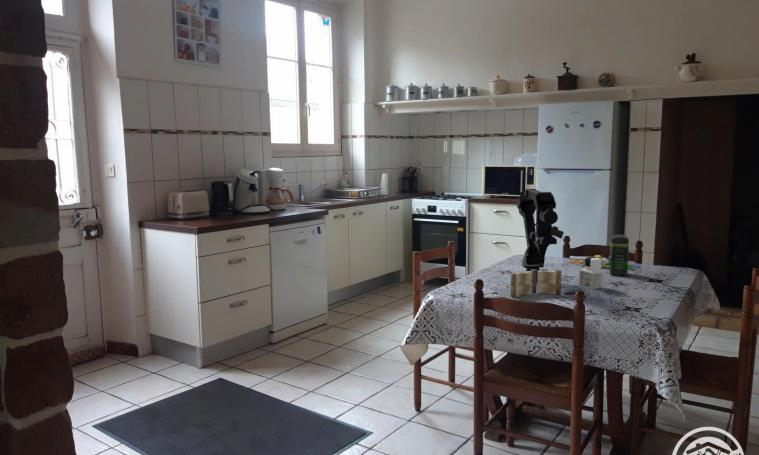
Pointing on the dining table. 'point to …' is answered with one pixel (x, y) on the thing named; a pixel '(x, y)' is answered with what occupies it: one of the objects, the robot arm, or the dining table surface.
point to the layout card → (507, 293)
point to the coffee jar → (619, 255)
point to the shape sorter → (604, 263)
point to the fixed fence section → (549, 282)
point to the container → (592, 274)
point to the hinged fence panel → (523, 283)
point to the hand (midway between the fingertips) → (542, 257)
